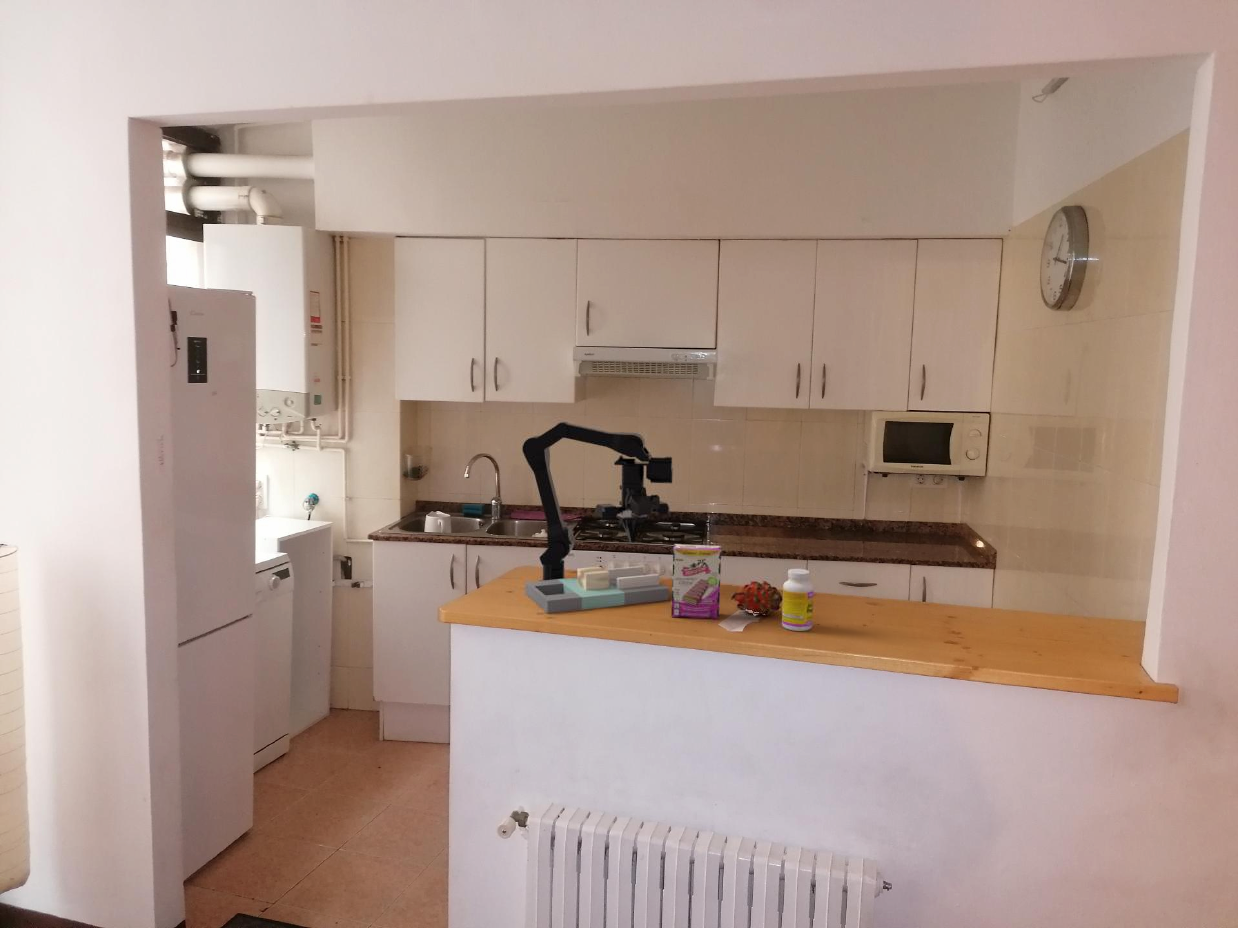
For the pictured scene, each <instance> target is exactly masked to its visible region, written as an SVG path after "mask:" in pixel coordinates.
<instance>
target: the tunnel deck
mask: <svg viewBox="0 0 1238 928" xmlns="http://www.w3.org/2000/svg"><path fill="white" fill-rule="evenodd" d="M604 569H605V570H606V571H608V572H609V588H603V589H593V590H585V589H584V588H582V587H581V586H579V585H578V576H576V577H568V578H565V577H564V579H555V580H544V581H539V580H537V581H536V580H534V581H526V582H524V585H525V587H524V590H525V591H524V594H525V595H526V596H527V597H528V598H529V599H530V600H532V601H533V602H534V603H535V604H536V605H537V606H538V607H540V608H541V609H542V610H543V611H544V612H545V613H546V614H554V613H555V614H556V613H562V612H564V613H565V612H571V611H572V612H573V611H574V612H575V611H580V610H591V609H600V608H609V607H618V606H626V605H637V604H645V603H653V602H654V603H655V602H663V601H664V602H665V601H670V588H669V587H668V586H666V585H665V584H662V583H661V582H660V574H658V573H655V574H652V573H651V574H645V567H644V566H643V565H638V566H637V565H635V566H626V567H616V568H615V567H614V568H604Z"/></svg>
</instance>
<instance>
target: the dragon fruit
mask: <svg viewBox="0 0 1238 928" xmlns="http://www.w3.org/2000/svg"><path fill="white" fill-rule="evenodd" d="M730 599H731V601H735V602H738V603H736V605H735V606H736V608H737V609H739V610H740V611H742V610H746V609H747V610H752V611H753V613H754V612H759V613H754V614H759V615H760V614H762V613H763V614H765V615H764V616H769V615H770V612H775V611H779V610H780V609H781V606H780V604H781V603H783V595H782V594H781V592H780V591H779V590H778V589H777V587H775V586H772V585H771V584H770V583H769V582H767V581H766V580H765V581H764V580H762V583H761V582H758V581H757V580H755V581H750V584H748V583H747V584H744V587H743V588H741V589H739V590H738V591H737V592H735V593H734V594H733V595H732V596H731V598H730ZM761 612H762V613H761ZM753 613H752V614H753ZM763 614H762V615H763Z"/></svg>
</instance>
